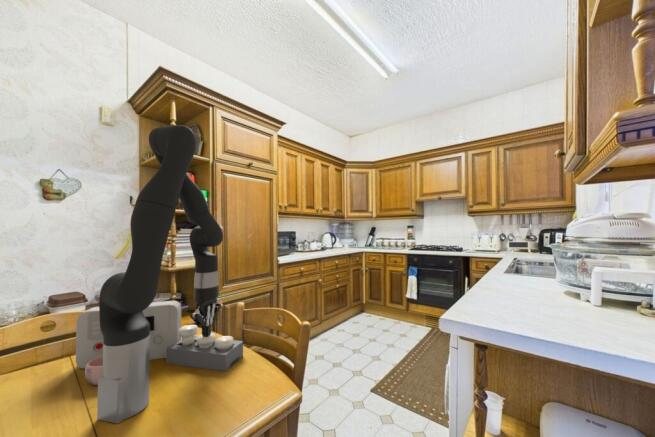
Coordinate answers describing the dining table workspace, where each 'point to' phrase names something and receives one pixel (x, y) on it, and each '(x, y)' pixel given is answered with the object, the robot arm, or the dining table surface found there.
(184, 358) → the mount
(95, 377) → the mug
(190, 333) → the knob
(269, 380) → the dining table surface
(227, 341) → the knob
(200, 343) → the knob
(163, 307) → the rounded white slab
